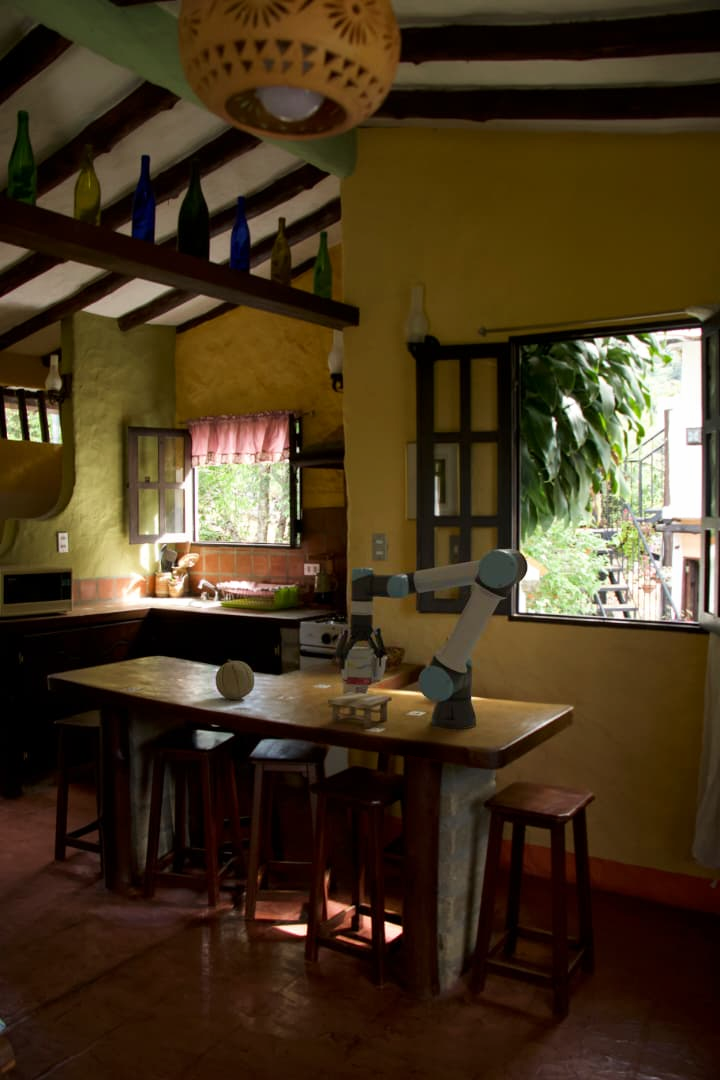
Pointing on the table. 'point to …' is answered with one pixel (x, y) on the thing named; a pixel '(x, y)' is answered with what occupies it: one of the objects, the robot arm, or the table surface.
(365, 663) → the ink box
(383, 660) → the teacup
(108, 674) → the table surface
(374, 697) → the footstool
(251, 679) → the cantaloupe
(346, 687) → the teacup with lid
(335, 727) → the table surface
